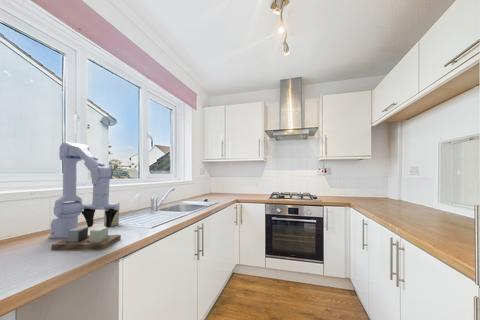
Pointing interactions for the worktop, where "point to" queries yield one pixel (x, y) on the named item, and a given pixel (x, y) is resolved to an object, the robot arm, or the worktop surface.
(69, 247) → the brown wooden frame
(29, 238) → the worktop surface
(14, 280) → the worktop surface
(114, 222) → the skincare box
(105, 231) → the block
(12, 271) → the worktop surface
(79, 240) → the grey block
